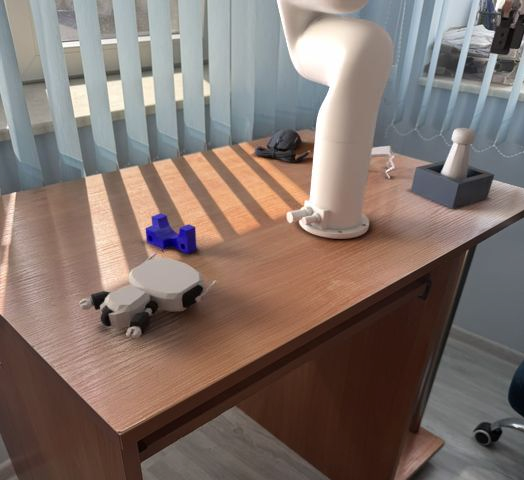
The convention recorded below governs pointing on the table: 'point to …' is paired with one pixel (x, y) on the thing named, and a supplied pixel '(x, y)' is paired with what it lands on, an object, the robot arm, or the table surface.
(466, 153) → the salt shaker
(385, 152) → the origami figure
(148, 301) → the robot toy
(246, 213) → the table surface
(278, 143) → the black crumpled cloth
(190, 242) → the cable holder
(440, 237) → the table surface
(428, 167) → the holder
